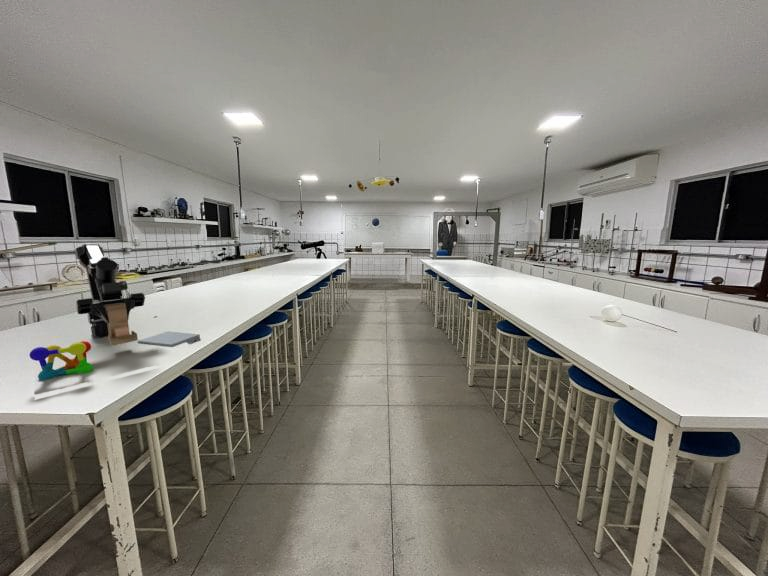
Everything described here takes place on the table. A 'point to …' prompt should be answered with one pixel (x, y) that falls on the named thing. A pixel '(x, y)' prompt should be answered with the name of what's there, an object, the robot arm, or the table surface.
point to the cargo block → (121, 331)
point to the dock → (170, 338)
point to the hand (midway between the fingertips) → (118, 321)
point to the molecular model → (55, 351)
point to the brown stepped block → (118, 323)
